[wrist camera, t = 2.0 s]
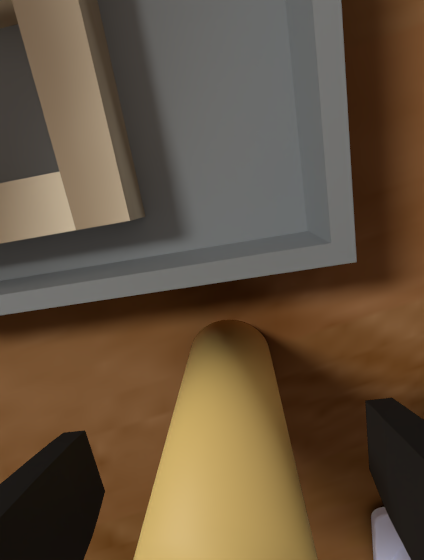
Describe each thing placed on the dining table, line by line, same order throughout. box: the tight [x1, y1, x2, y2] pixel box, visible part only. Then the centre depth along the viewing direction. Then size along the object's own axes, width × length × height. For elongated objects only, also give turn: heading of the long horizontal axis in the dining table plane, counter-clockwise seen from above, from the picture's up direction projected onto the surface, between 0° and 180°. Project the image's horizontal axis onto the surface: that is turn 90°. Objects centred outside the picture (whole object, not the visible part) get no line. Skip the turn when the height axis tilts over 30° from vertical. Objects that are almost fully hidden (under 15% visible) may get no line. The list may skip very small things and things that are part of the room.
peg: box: [134, 320, 318, 560], centre depth 9 cm, size 3×3×8 cm
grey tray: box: [0, 0, 357, 315], centre depth 9 cm, size 16×12×3 cm
